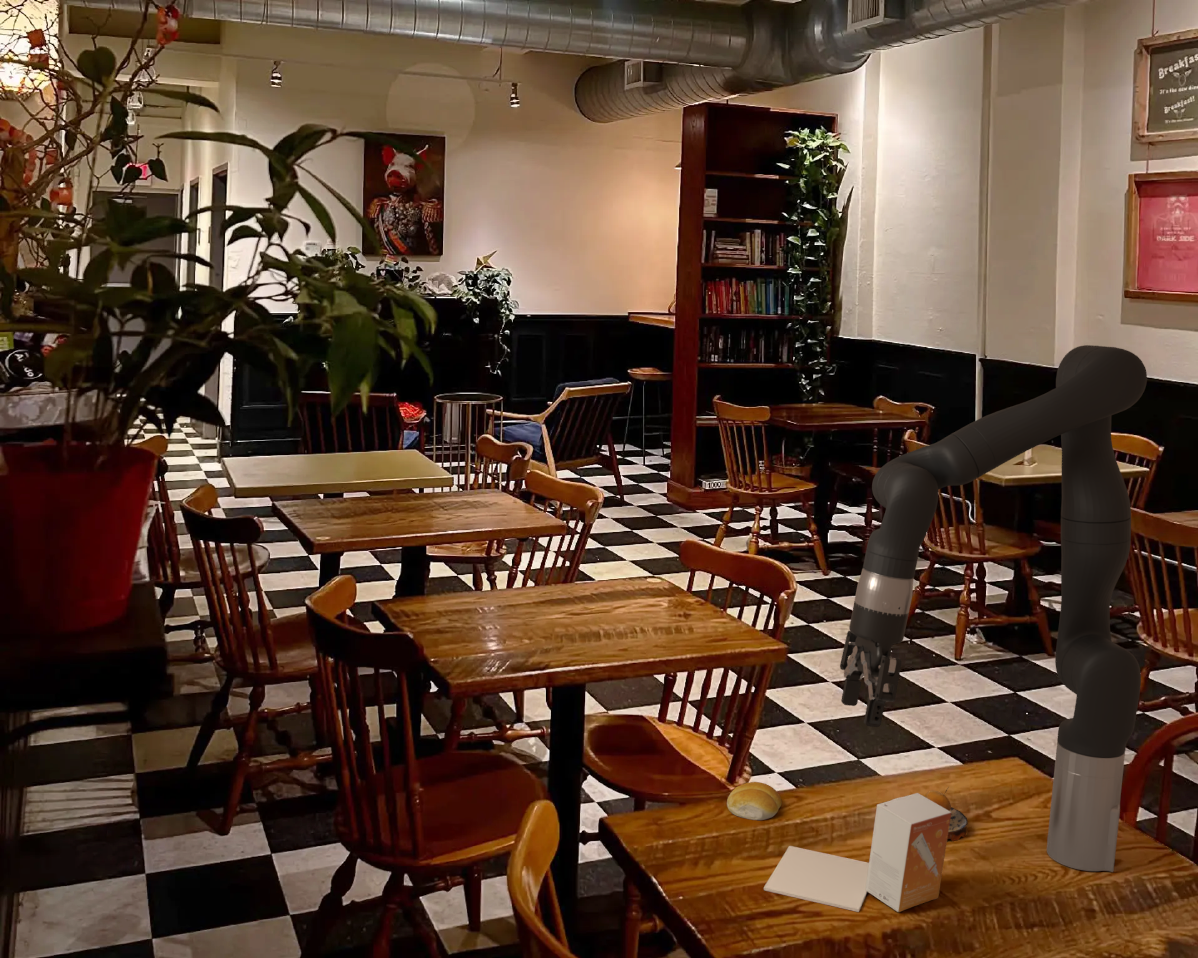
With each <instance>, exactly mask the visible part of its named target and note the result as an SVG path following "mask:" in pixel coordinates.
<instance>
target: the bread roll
mask: <svg viewBox="0 0 1198 958" xmlns="http://www.w3.org/2000/svg"><path fill="white" fill-rule="evenodd" d="M781 806H782V798H781V796H780V794H779V793H778V791H777V790H776V789H775V788H774V787H773V786H771V785H769V784H767V783H765V782H760V781H750V782H746V783H743V784H740V785H738V786H736V787H735V788H734V789H733V790H732V791H731V792H730V794H729V795H728V796H727V801H726V807H727V809H728V811H729V812H730V813H731V814H732V815H734V816H736V817H738V818H742V819H747V820H752V821H763V820H768V819H771V818H773V817H774V816H775V815H776V814H777V813H778V812H779V809H780V808H781Z"/></svg>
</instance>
